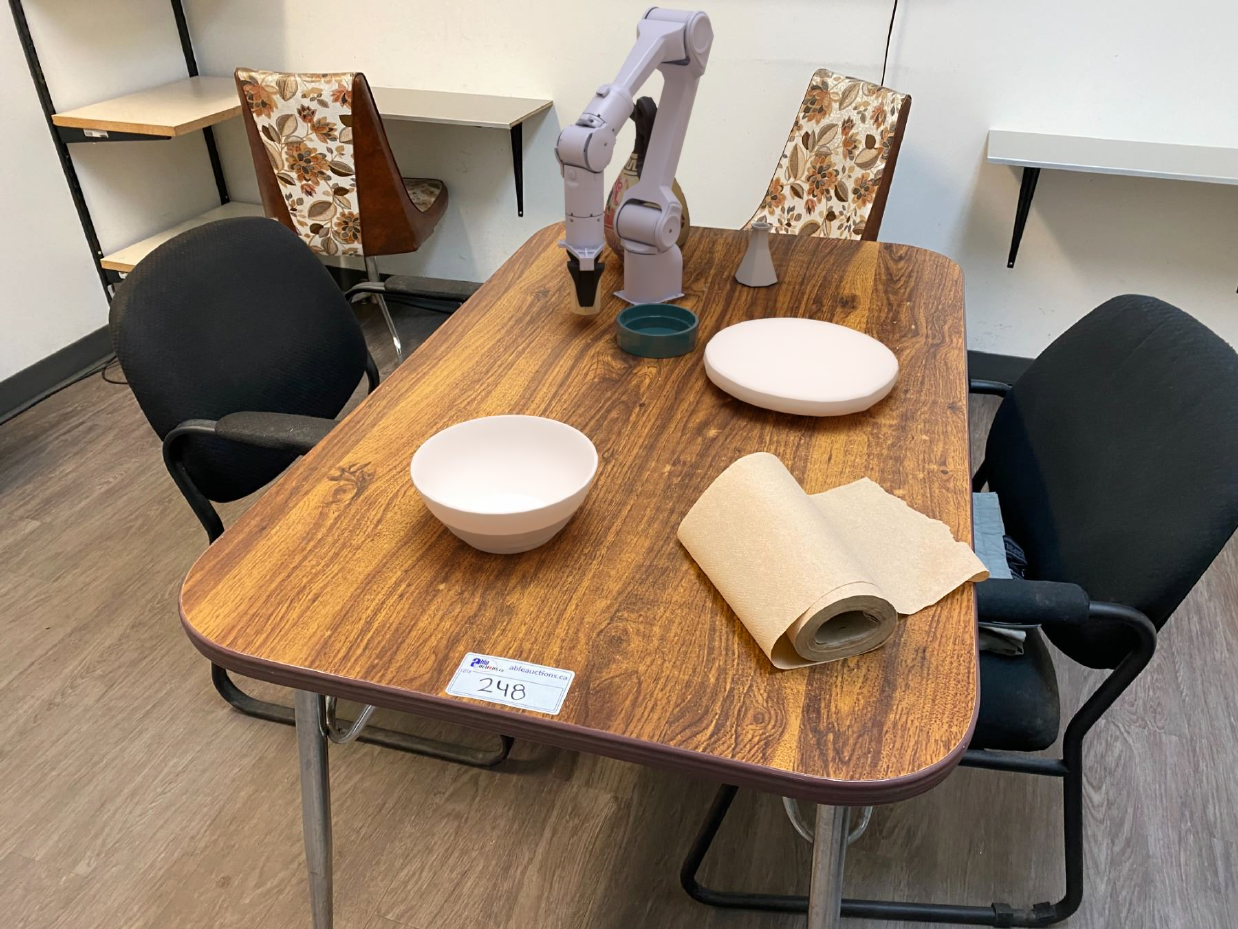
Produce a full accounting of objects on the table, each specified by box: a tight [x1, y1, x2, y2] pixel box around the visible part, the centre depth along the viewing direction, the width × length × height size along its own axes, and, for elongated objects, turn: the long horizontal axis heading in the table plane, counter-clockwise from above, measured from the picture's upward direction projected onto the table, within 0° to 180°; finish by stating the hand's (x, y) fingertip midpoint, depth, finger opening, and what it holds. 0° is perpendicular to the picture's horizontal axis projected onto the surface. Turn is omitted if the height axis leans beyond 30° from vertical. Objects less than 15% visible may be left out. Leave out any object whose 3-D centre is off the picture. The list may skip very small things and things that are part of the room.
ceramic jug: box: [604, 95, 691, 266], centre depth 158 cm, size 17×15×30 cm
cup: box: [569, 273, 602, 316], centre depth 141 cm, size 5×5×5 cm
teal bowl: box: [616, 302, 700, 359], centre depth 137 cm, size 12×12×4 cm
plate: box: [702, 317, 900, 417], centre depth 127 cm, size 28×6×27 cm
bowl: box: [409, 414, 599, 555], centre depth 97 cm, size 20×20×8 cm
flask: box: [734, 221, 778, 287], centre depth 159 cm, size 7×7×10 cm
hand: (585, 299), depth 141 cm, fingers closed on cup, 5 cm apart
